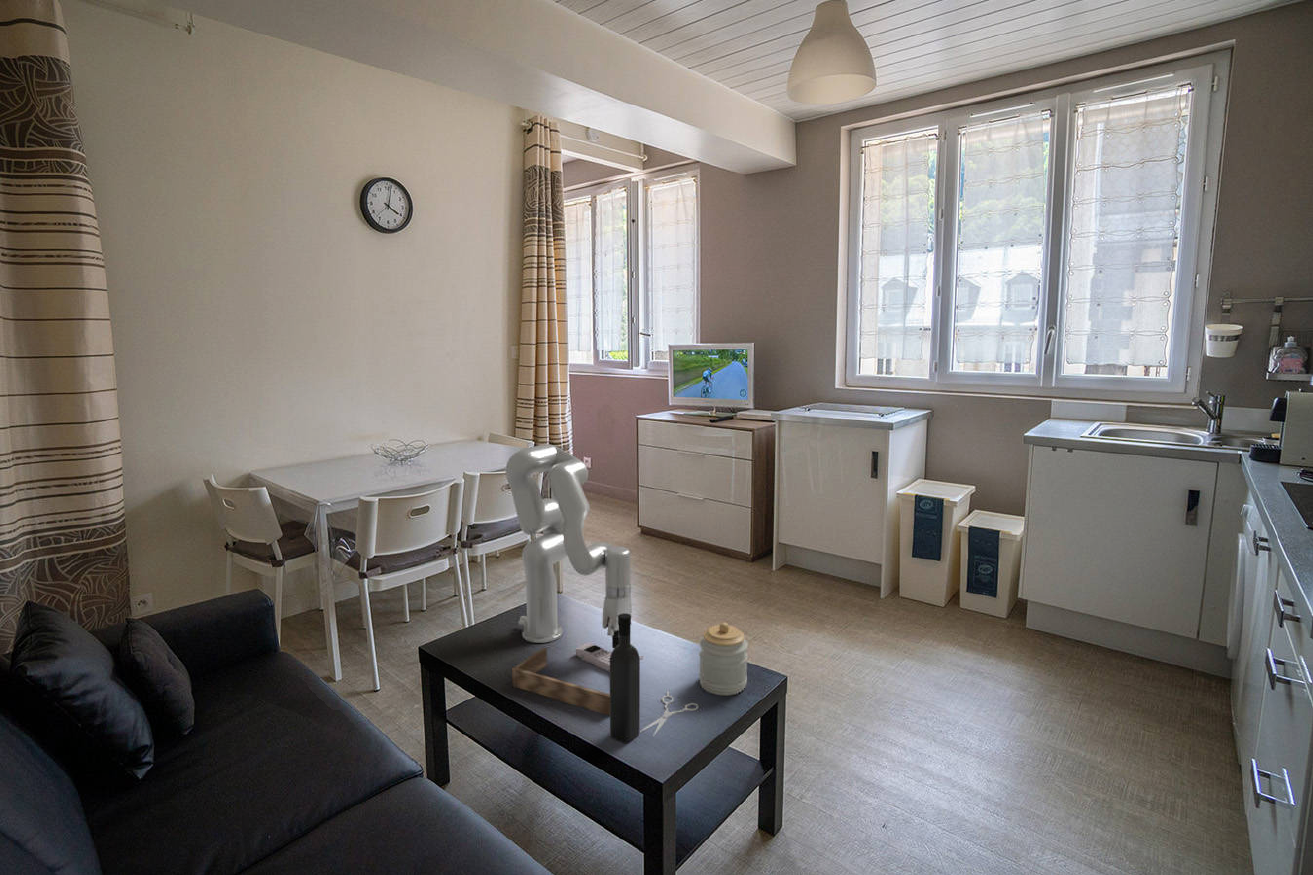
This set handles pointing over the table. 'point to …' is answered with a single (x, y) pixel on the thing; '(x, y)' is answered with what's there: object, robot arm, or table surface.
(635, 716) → the wine bottle
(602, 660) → the mobile phone
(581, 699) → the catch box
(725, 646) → the jar
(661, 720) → the scissors
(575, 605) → the table surface
